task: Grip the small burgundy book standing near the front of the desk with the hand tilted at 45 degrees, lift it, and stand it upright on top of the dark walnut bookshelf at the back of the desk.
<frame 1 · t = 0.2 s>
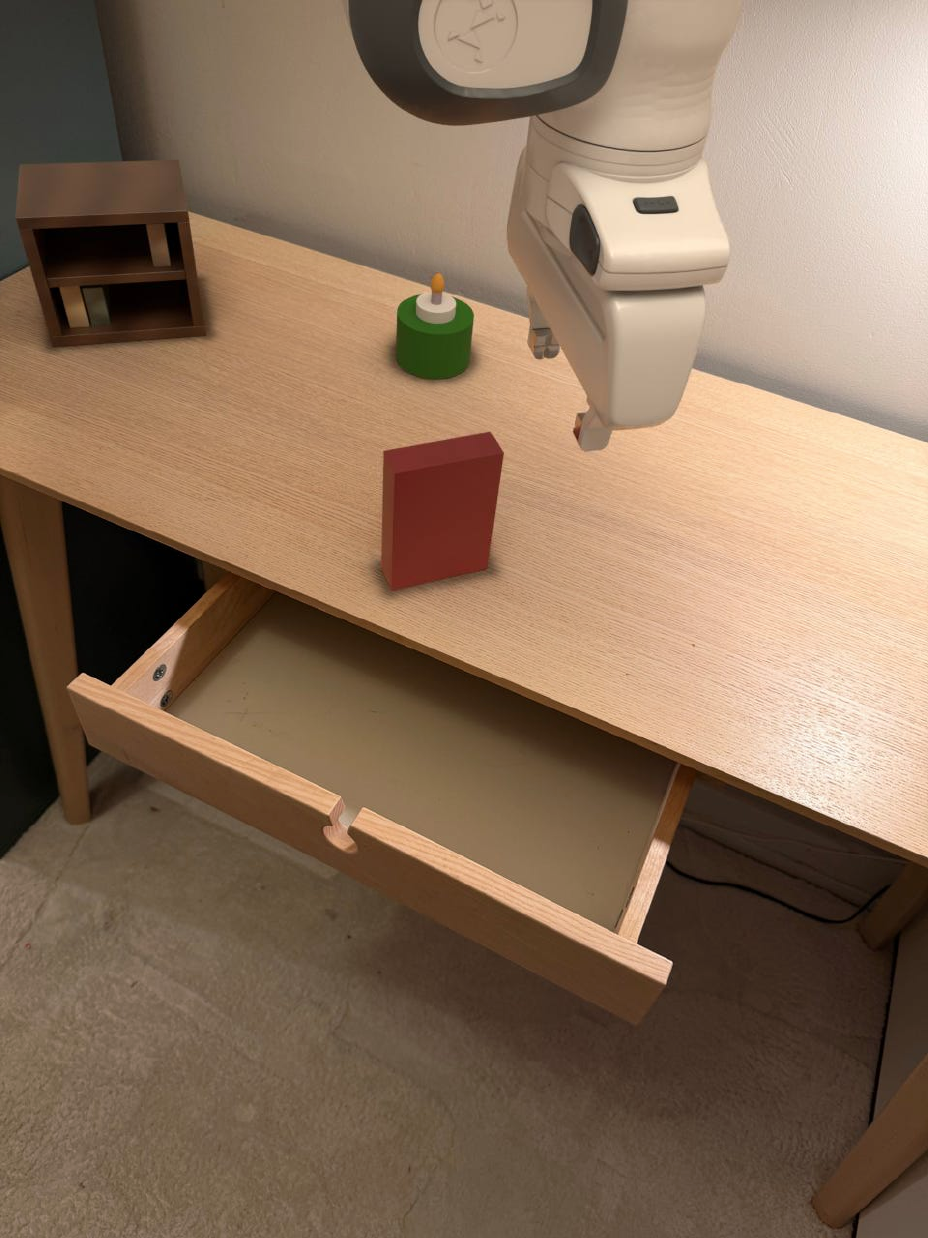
hand: (564, 395, 57), 24 cm above the table, tool pointing down, fingers open, 8 cm apart
candle: (432, 359, 102), on the table
book: (434, 568, 80), on the table
bookshelf: (128, 311, 103), on the table
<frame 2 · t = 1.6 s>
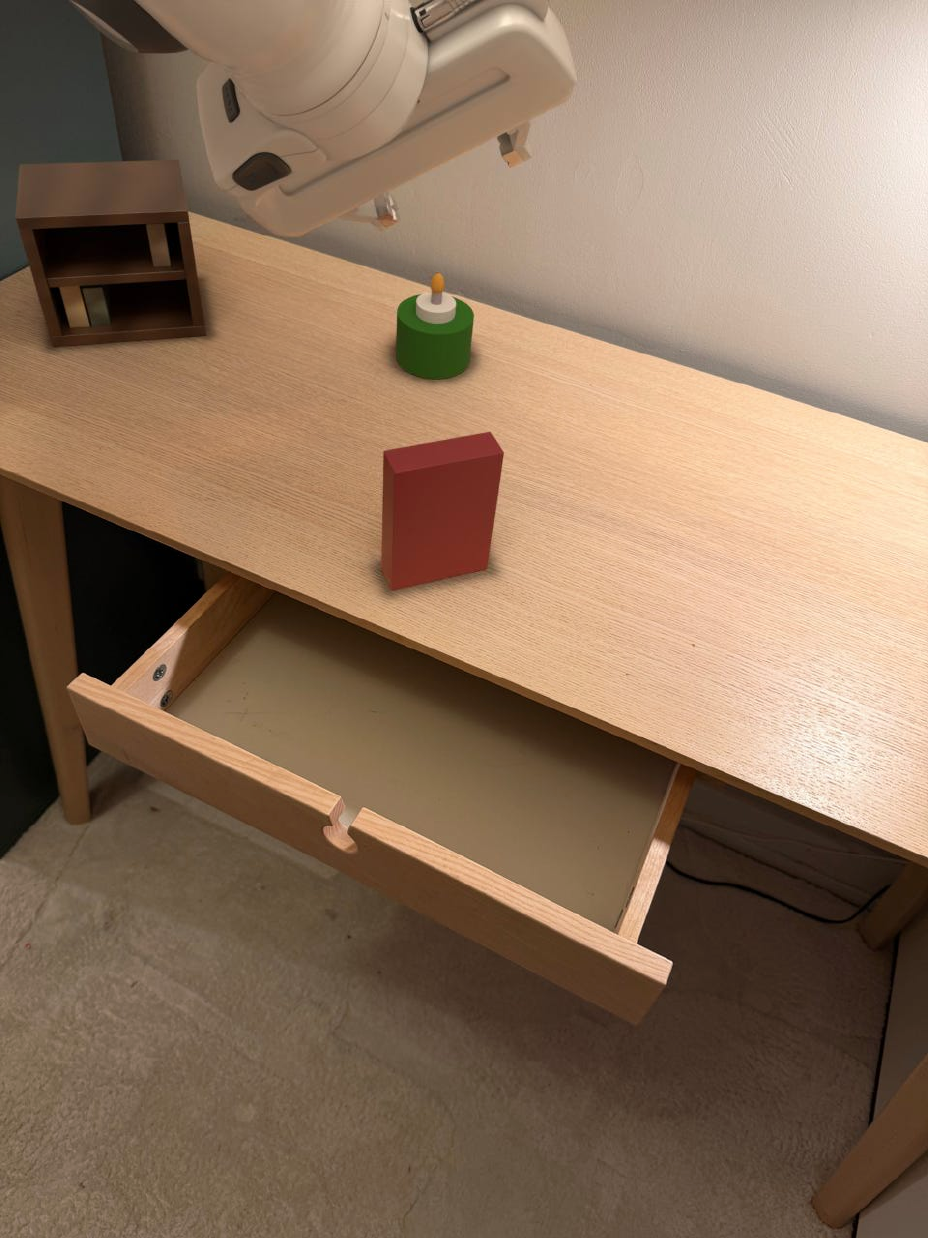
hand: (452, 185, 58), 32 cm above the table, tool tilted 50°, fingers open, 8 cm apart
nothing on the table moved.
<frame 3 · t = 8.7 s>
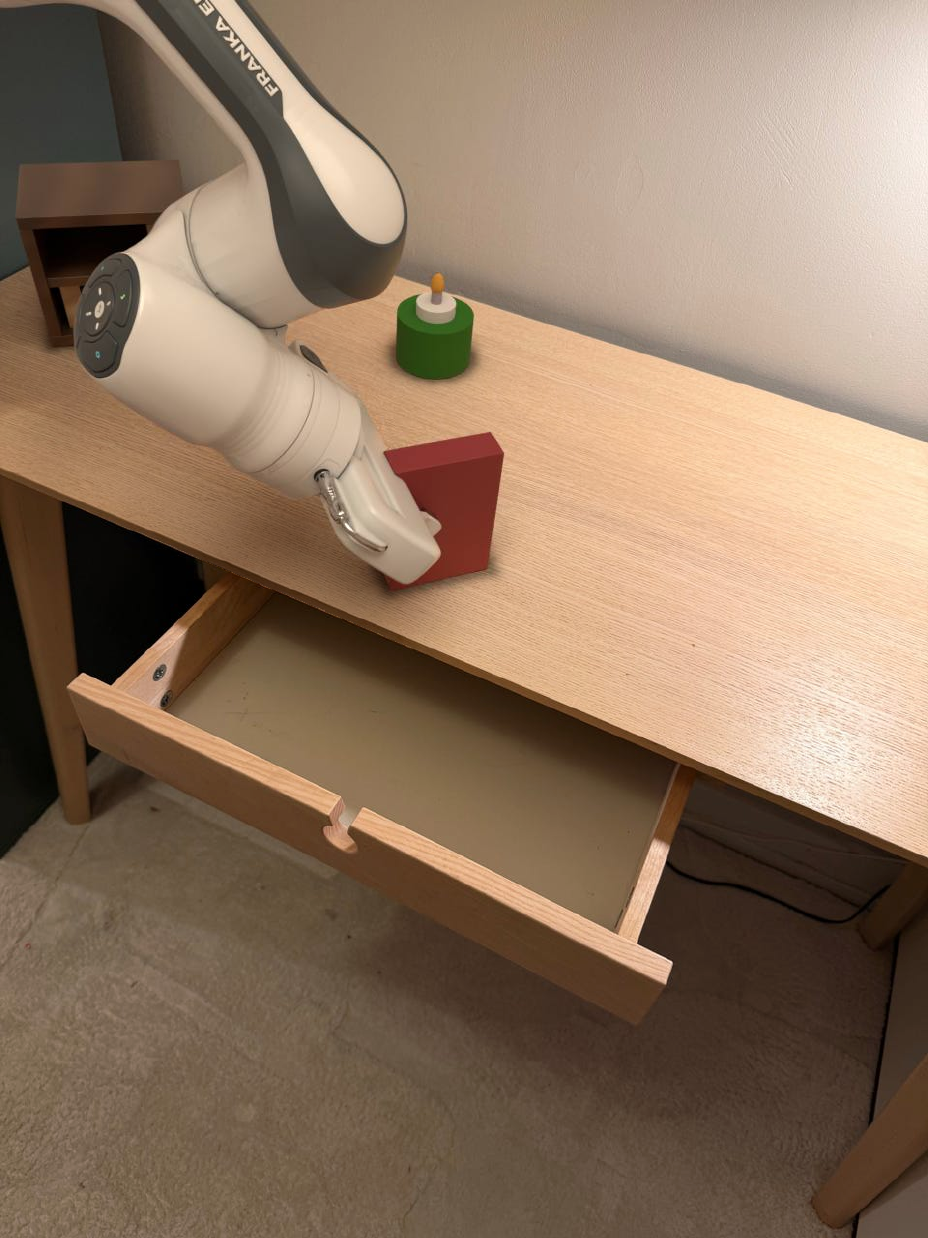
hand: (423, 510, 74), 7 cm above the table, tool tilted 45°, fingers closed on book, 3 cm apart
book: (434, 568, 80), on the table, touching gripper
everything else where it was.
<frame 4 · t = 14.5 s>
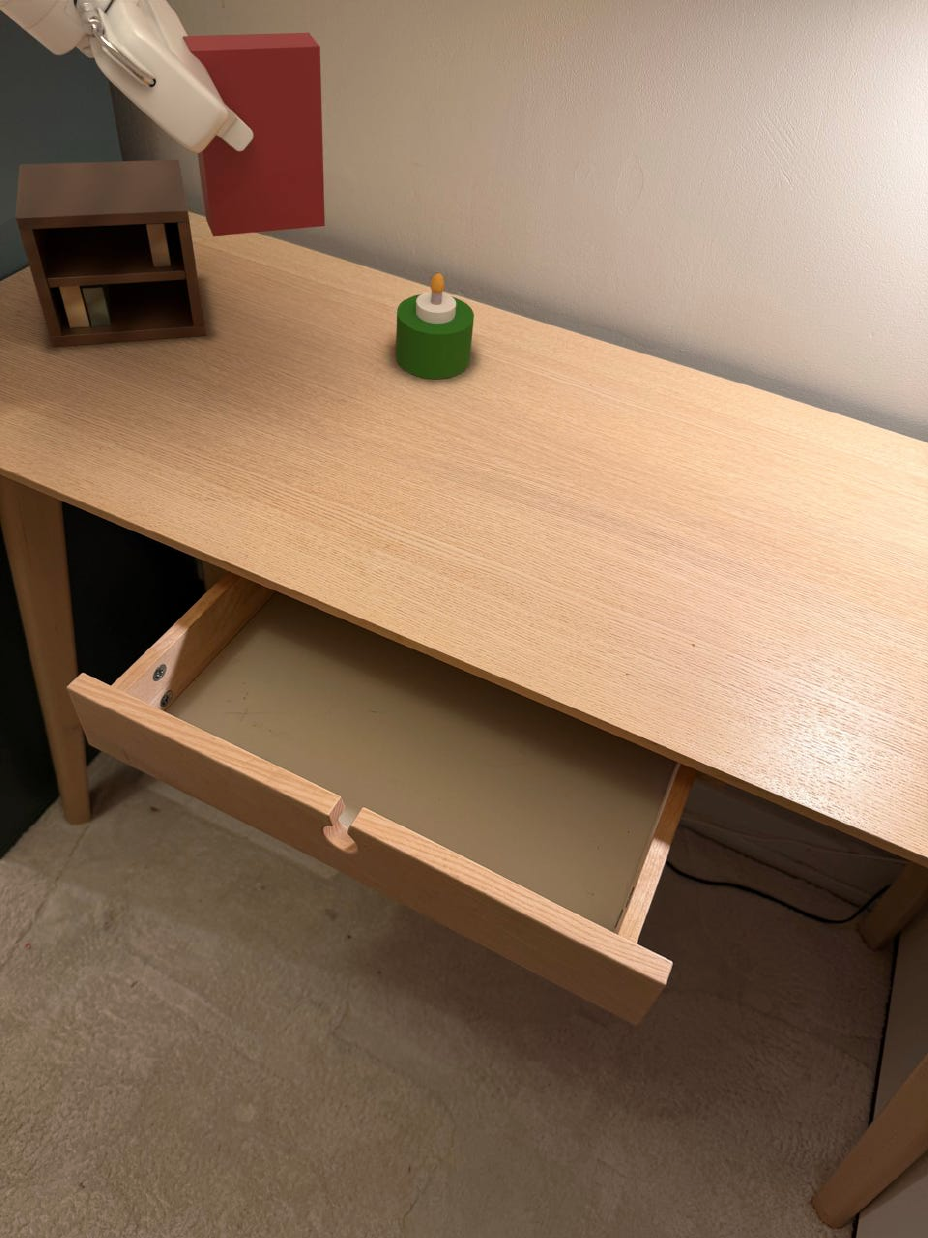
hand: (239, 128, 68), 29 cm above the table, tool tilted 45°, fingers closed on book, 3 cm apart
book: (265, 223, 73), point 22 cm above the table, touching gripper
everything else where it was.
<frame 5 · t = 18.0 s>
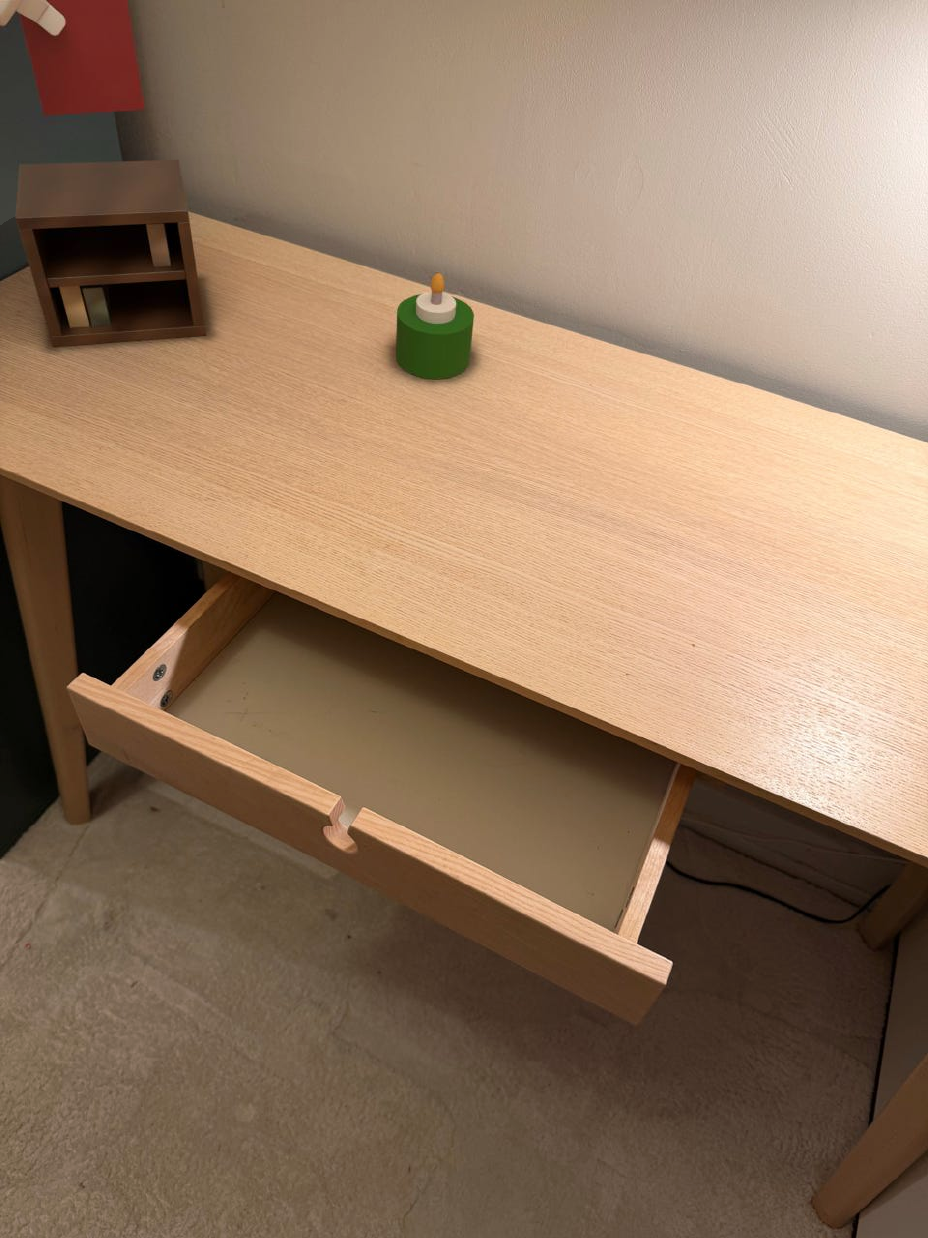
hand: (58, 18, 80), 29 cm above the table, tool tilted 45°, fingers closed on book, 3 cm apart
book: (93, 106, 85), point 22 cm above the table, touching gripper
everything else where it was.
when the fingers open (21 cm above the table, at t = 20.8 s): book stays where it is, resting on bookshelf.
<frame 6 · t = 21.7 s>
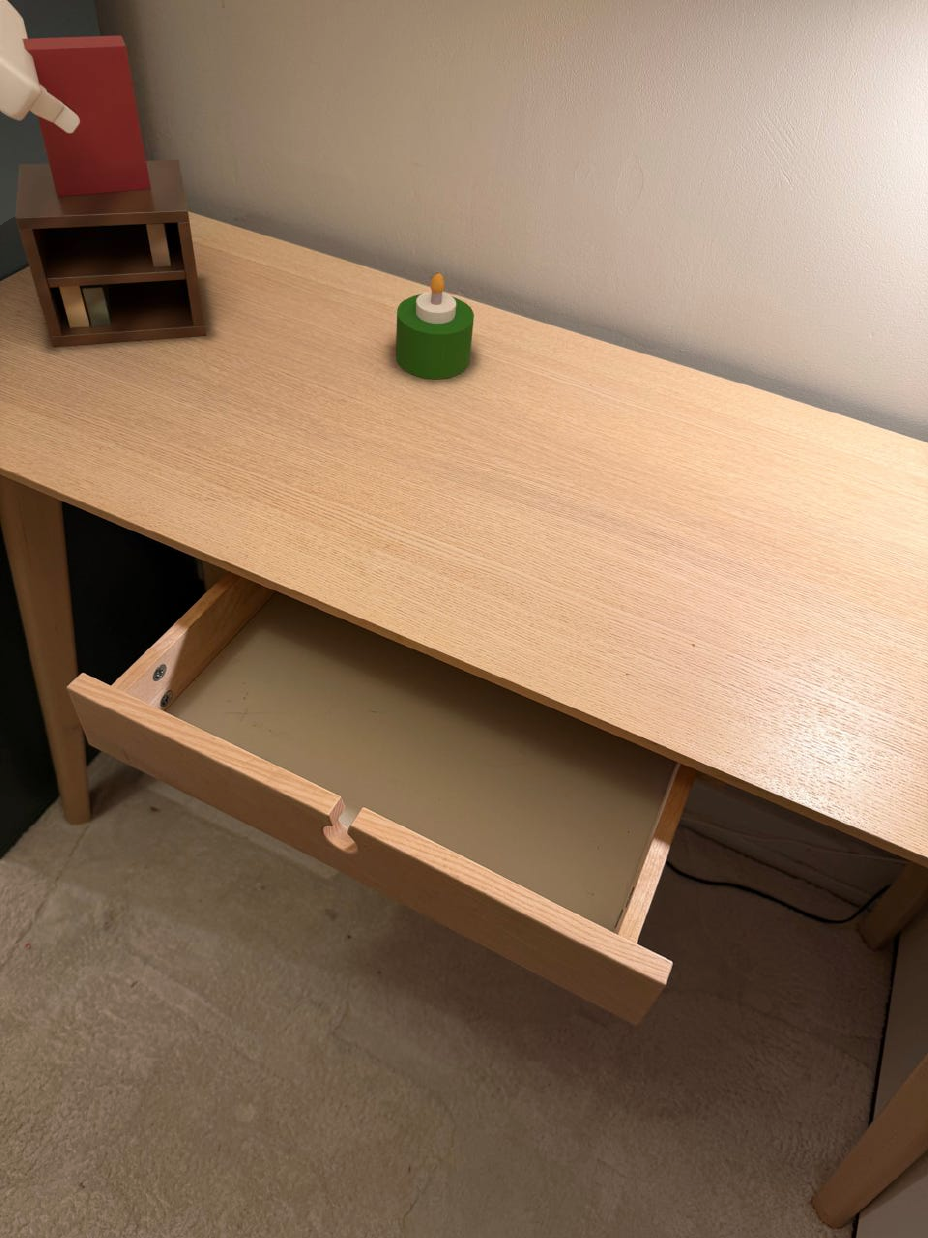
hand: (69, 105, 86), 22 cm above the table, tool tilted 45°, fingers open, 8 cm apart
book: (103, 186, 92), point 14 cm above the table, touching bookshelf
everything else where it was.
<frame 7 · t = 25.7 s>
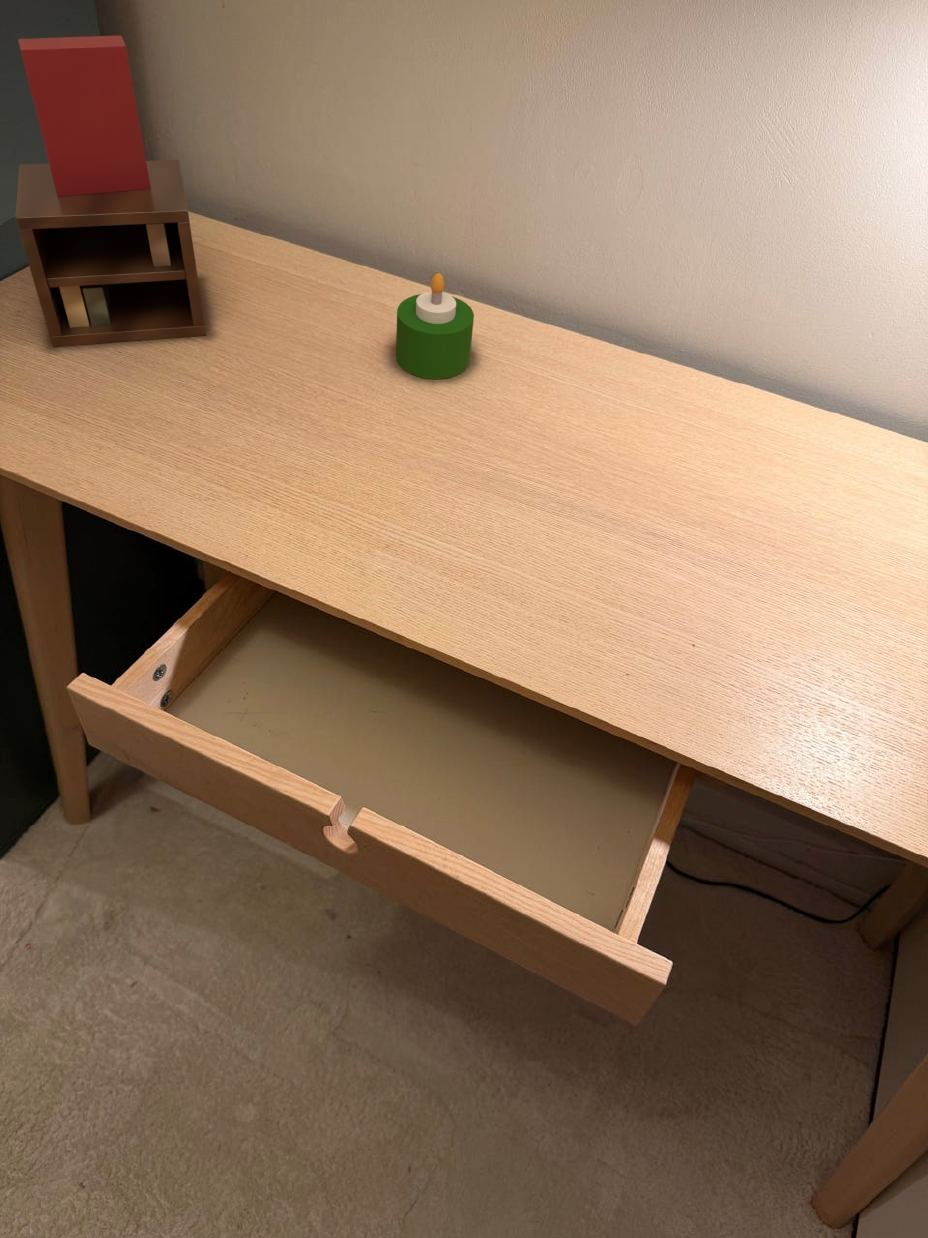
nothing on the table moved.
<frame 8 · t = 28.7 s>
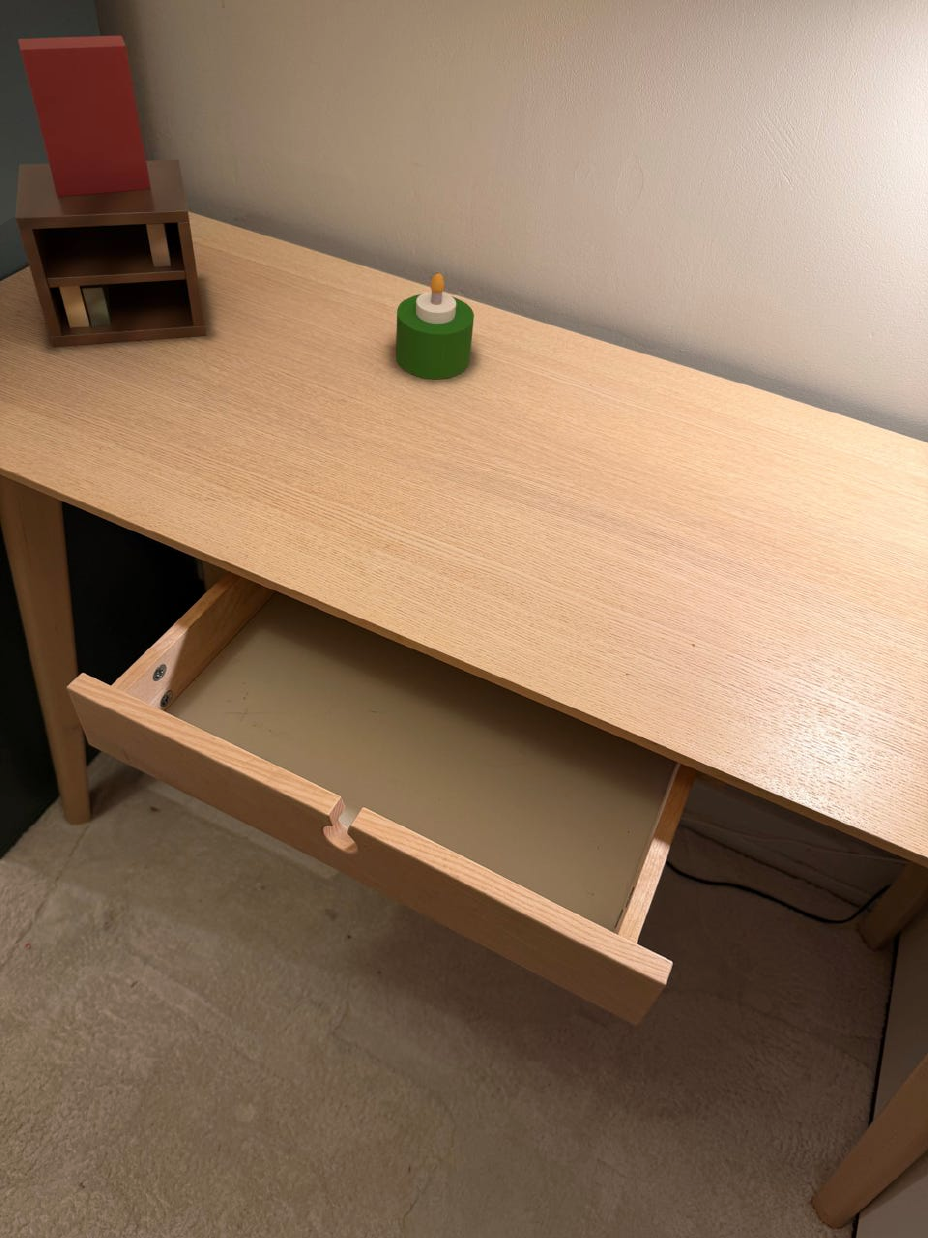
nothing on the table moved.
at the end: book inside the target area on the bookshelf (0.1 cm from its centre), point 14.0 cm above the bookshelf's base; book tilted 0°; the gripper is holding nothing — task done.
